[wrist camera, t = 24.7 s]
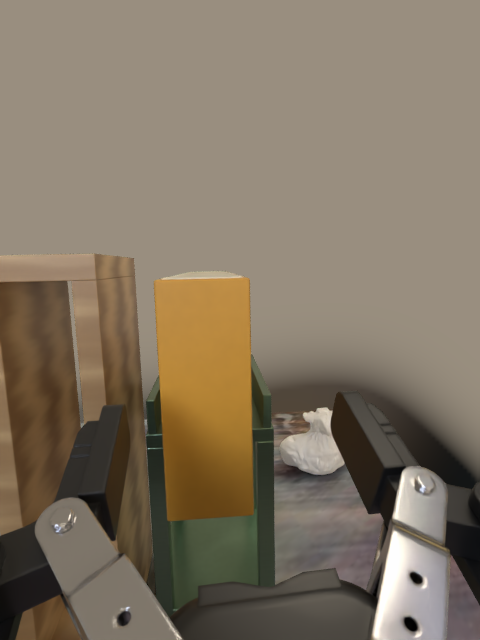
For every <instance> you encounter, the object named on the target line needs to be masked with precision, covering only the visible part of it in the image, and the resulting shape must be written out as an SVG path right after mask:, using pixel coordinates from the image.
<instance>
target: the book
mask: <svg viewBox="0 0 480 640" xmlns="http://www.w3.org/2000/svg"><path fill="white" fill-rule="evenodd" d="M154 295H155V311H156V312H155V313H156V331H157V348H158V366H159V384H160V402H161V420H162V437H163V455H164V473H165V490H166V508H167V520H168V521H181V520H195V519H208V518H222V517H236V516H250V515H253V514H254V494H253V437H252V381H251V325H250V280H249V278H246V277H243V276H240V275H236V274H233V273H230V272H226V271H212V272H211V271H209V272H188V273H183V274H179V275H174V276H170V277H165V278H162V279H158V280H155V281H154Z"/></svg>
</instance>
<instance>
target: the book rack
mask: <svg viewBox="0 0 480 640" xmlns="http://www.w3.org/2000/svg"><path fill="white" fill-rule="evenodd" d="M251 381H252V437H253V494H254V514H253V515H250V516H236V517H222V518H208V519H195V520H181V521H171V522H170V521H168V520H167V508H166V490H165V473H164V455H163V437H162V420H161V402H160V384H159V376H158V378H157V380H156V382H155V384H154V386H153V388H152V390H151V392H150V394H149V396H148V398H147V400H146V408H147V424H148V432H147V434H146V444H147V460H148V476H149V491H150V507H151V523H152V539H153V554H154V570H155V586H156V599H157V600H158V602H159V603H160V605H161V606H162V608H163V609H164V611H165V612H166V614H167V615H168V616H169V618H170V616H171V615H172V614H173V613H174V612H176V611H177V610H178V609H179V608H180V607H182V606H183V605H185V604H186V603H188V602H189V601H191V600H193V599H195V598H198V586H201V585H208V584H216V583H224V582H231V581H234V582H240V583H246V584H252V585H259V586H265V587H272V586H275V547H274V441H273V440H274V428H273V426H272V423H271V394H270V392H269V389H268V387H267V385H266V383H265V381H264V379H263V377H262V375H261V372H260V370H259V368H258V366H257V364H256V362H255V360H254V357H253V355H252V354H251Z"/></svg>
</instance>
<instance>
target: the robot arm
mask: <svg viewBox="0 0 480 640" xmlns="http://www.w3.org/2000/svg"><path fill="white" fill-rule="evenodd" d="M330 427H331V433H332V436H333V439H334V441H335V443H336V445H337V447H338V449H339V452H340V454H341V456H342V458H343V460H344V462H345V464H346V467H347V469H348V471H349V473H350V475H351V477H352V479H353V482H354V484H355V486H356V488H357V490H358V492H359V494H360V497H361V499H362V501H363V503H364V505H365V507H366V509H367V512H368V514H376V513H381V515H382V517H383V519H384V521H383V524H382V527H381V531H380V536H379V540H378V545H377V549H376V554H375V558H374V562H373V567H372V571H371V575H370V579H369V582H368V585H367V588H366V590H364V589H363V588H361V587H359V586H357V585H355V584H352V583H350V582H347V581H343V580H339V577H338V574H337V571H336V568H332V569H324V570H316V571H309V572H302V573H300V574H298V575H296V576H294V577H292V578H290V579H287V580H285V581H283V582H281V583H279V584H277V585H275V586H272V587H265V586H259V585H252V584H246V583H240V582H234V581H231V582H224V583H216V584H208V585H201V586H198V598H195V599H193V600H191V601H189V602H188V603H186V604H185V605H183V606H182V607H180V608H179V609H178V610H177V611H176V612H174V613H173V614H172V615H171V616H170V618H169V616H168V615H167V614H166V612H165V611H164V609H163V608H162V606H161V605H160V603H159V602H158V600H157V599H156V597H155V596H154V594H153V593H152V591H151V590H150V588H149V587H148V586H147V584H146V583H145V581H144V580H143V578H142V577H141V575H140V574H139V572H138V571H137V569H136V568H135V566H134V565H133V563H132V562H131V561H130V559H129V558H128V557H127V555H126V554H124V553H120V552H119V551H118V550H117V549H116V547H115V546H114V544H113V543H112V541H115V540H116V534H117V528H118V522H119V516H120V510H121V504H122V497H123V491H124V485H125V479H126V473H127V467H128V461H129V454H130V442H131V441H130V430H129V423H128V416H127V409H126V405H125V404H119V405H104V406H103V407H102V411H101V414H100V418H99V421H87V422H86V424H85V425H84V426H83V427H82V428H81V429H80V431H79V432H78V433H77V436H76V439H75V442H74V445H73V448H72V451H71V454H70V459H69V460H68V463H67V466H66V468H65V471H64V474H63V477H62V480H61V483H60V486H59V489H58V492H57V495H56V498H55V500H54V502H53V504H51V505H50V506H49V507H47V508H46V509H45V510H44V511H43V512H42V514H41V515H40V516H39V518H38V520H36V521H35V522H33V523H31V524H29V525H27V526H25V527H22V528H20V529H17V530H14V531H12V532H9V533H6V534H4V535H1V536H0V640H16V636H17V632H18V629H19V625H20V621H21V618H22V614H23V612H24V611H27V610H29V609H31V608H33V607H35V606H37V605H39V604H41V603H44V602H46V601H48V600H50V599H52V598H54V597H56V596H58V595H60V597H61V599H62V602H63V604H64V606H65V608H66V610H67V612H68V614H69V616H70V618H71V620H72V622H73V624H74V626H75V628H76V630H77V632H78V634H79V636H80V638H81V640H447V621H448V600H449V579H450V555H452V556H453V558H454V560H455V562H456V563H457V565H458V567H459V569H460V571H461V572H462V574H463V576H464V578H465V580H466V581H467V583H468V585H469V587H470V589H471V590H472V592H473V594H474V596H475V598H476V599H477V601H478V603H479V605H480V481H478V482H477V483H476V484H475V486H474V488H473V489H468V488H463V487H458V486H453V485H448V484H445V483H444V482H443V480H442V479H441V478H440V477H439V476H438V475H436V474H435V473H433V472H432V471H430V470H428V469H426V468H423V467H420V466H419V464H418V463H417V461H416V460H415V458H414V457H413V455H412V454H411V453H410V451H409V450H408V448H407V447H406V445H405V444H404V442H403V441H402V439H401V438H400V436H399V435H398V434H397V433H396V430H395V429H394V427H393V426H392V425H391V424H390V421H389V420H388V419H387V417H386V416H385V414H384V413H383V412H382V411H381V410H380V409H378V408H377V407H376V406H375V405H373V404H372V403H370V404H366V402H365V400H364V399H363V397H362V396H361V394H360V393H359V392H358V391H347V392H338V393H337V394H336V398H335V403H334V407H333V412H332V416H331V422H330Z"/></svg>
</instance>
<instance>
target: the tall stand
mask: <svg viewBox="0 0 480 640" xmlns="http://www.w3.org/2000/svg"><path fill="white" fill-rule="evenodd" d="M67 281H72V291H73V292H72V293H73V304H74V315H75V326H76V337H77V348H78V359H79V370H80V382H81V393H82V404H83V415H84V425H85V424H86V422H87V421H99V418H100V414H101V411H102V407H103V406H104V405H119V404H125V405H126V409H127V416H128V423H129V430H130V441H131V442H130V454H129V461H128V467H127V473H126V479H125V485H124V491H123V497H122V504H121V510H120V516H119V522H118V528H117V534H116V540H115V541H112V543H113V544H114V546H115V547H116V549H117V550H118V551H119V552H120V553H124V554H126V555H127V557H128V558H129V559H130V561H131V562H132V563H133V565H134V566H135V568H136V569H137V571H138V572H139V574H140V575H141V577H142V578H143V580H144V581H145V583H146V584H147V579H148V574H149V569H150V564H151V559H152V554H153V551H152V535H151V519H150V504H149V488H148V472H147V457H146V441H145V425H144V412H143V394H142V378H141V363H140V347H139V332H138V316H137V302H136V301H137V300H136V284H135V269H134V258H128V257H119V256H110V255H101V254H53V255H52V254H50V255H49V254H48V255H0V536H1V535H4V534H6V533H9V532H12V531H14V530H17V529H20V528H22V527H25V526H27V525H29V524H31V523H33V522H35V521H36V520H38V518H39V516H40V515H41V514H42V512H43V511H44V510H45V509H46V508H47V507H49V506H50V505H51V504H53V502H54V500H55V498H56V495H57V492H58V489H59V486H60V483H61V480H62V477H63V474H64V471H65V468H66V466H67V463H68V460H69V459H70V454H71V451H72V448H73V445H74V442H75V439H76V436H77V433H78V432H79V431H80V429H81V426H80V415H79V404H78V393H77V382H76V371H75V360H74V349H73V338H72V327H71V316H70V305H69V294H68V285H67ZM16 640H81V638H80V636H79V634H78V632H77V630H76V628H75V626H74V624H73V622H72V620H71V618H70V616H69V614H68V612H67V610H66V608H65V606H64V604H63V602H62V599H61V597H60V595H58V596H56V597H54V598H52V599H50V600H48V601H46V602H44V603H41V604H39V605H37V606H35V607H33V608H31V609H29V610H27V611H24V612H23V614H22V618H21V621H20V625H19V629H18V632H17V636H16Z"/></svg>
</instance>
